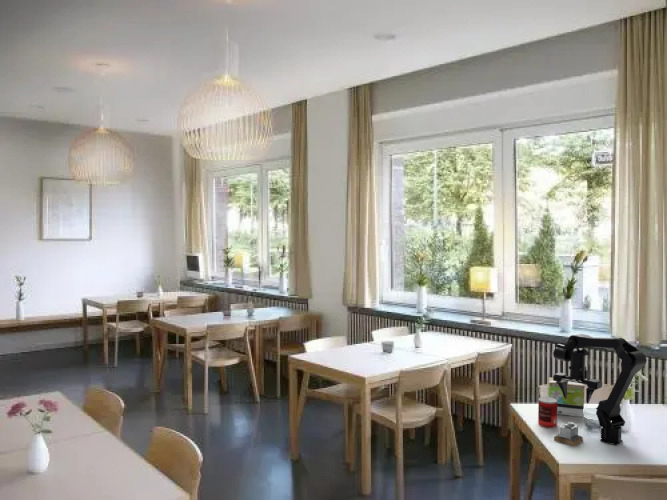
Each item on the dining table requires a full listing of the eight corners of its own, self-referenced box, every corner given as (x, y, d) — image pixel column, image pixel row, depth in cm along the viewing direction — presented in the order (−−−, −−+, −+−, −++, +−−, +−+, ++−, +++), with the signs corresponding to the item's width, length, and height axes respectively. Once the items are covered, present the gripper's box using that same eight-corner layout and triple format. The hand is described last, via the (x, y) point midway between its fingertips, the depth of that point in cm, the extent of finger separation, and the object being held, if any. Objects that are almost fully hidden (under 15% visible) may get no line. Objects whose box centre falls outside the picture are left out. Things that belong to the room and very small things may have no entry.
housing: (578, 435, 229) (578, 422, 229) (570, 439, 224) (570, 426, 224) (567, 432, 232) (567, 420, 232) (559, 436, 228) (559, 424, 227)
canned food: (554, 421, 251) (554, 397, 250) (559, 428, 243) (559, 402, 243) (536, 421, 252) (536, 396, 251) (540, 427, 244) (541, 401, 243)
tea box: (548, 414, 261) (549, 382, 261) (546, 407, 271) (547, 376, 271) (583, 417, 257) (584, 385, 257) (581, 410, 267) (581, 379, 266)
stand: (582, 441, 228) (582, 436, 228) (573, 446, 223) (574, 441, 223) (563, 435, 234) (563, 430, 234) (554, 440, 229) (554, 435, 229)
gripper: (608, 365, 240) (607, 401, 241) (564, 357, 254) (563, 392, 254) (597, 369, 232) (596, 407, 233) (552, 361, 246) (551, 397, 246)
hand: (576, 400), depth 242 cm, fingers open, 9 cm apart
